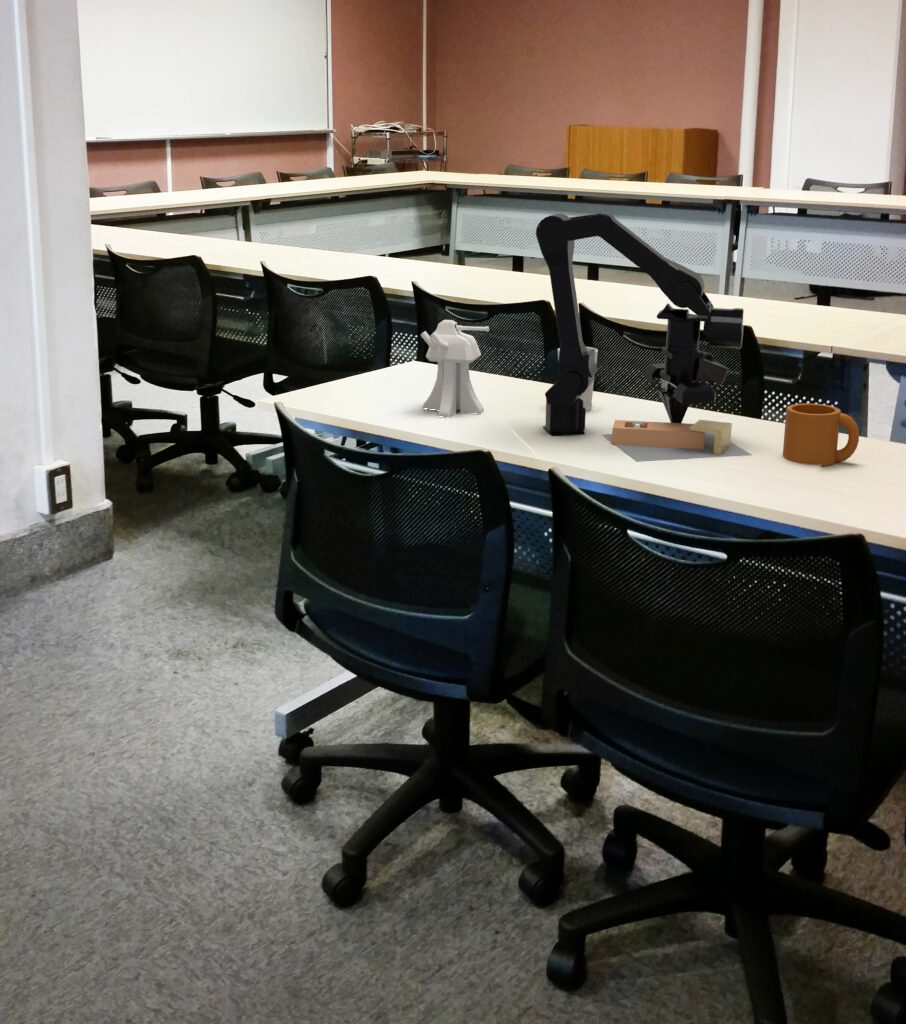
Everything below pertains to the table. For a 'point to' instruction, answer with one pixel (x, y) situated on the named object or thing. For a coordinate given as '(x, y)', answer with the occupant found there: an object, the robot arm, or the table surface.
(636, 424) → the cylinder
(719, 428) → the keeper
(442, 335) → the white mech figurine
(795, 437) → the mug
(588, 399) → the cup
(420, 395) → the table surface
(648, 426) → the link
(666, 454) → the mat
